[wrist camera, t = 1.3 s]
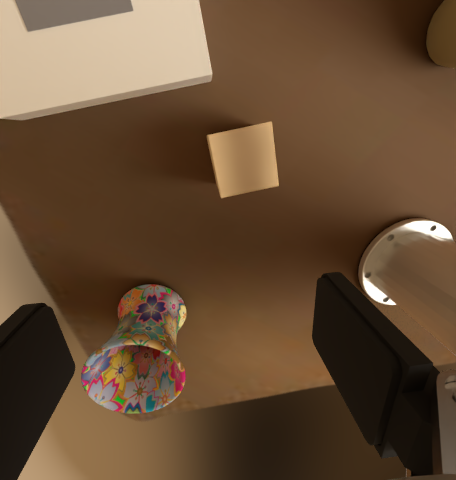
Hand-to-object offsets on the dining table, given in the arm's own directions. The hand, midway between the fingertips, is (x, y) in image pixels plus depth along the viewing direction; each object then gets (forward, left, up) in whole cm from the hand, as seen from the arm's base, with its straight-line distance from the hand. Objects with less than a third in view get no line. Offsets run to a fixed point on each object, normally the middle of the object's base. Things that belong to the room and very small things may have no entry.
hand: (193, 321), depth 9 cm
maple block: (-5, -3, -21) cm, 21 cm away
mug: (+9, +15, -21) cm, 27 cm away
